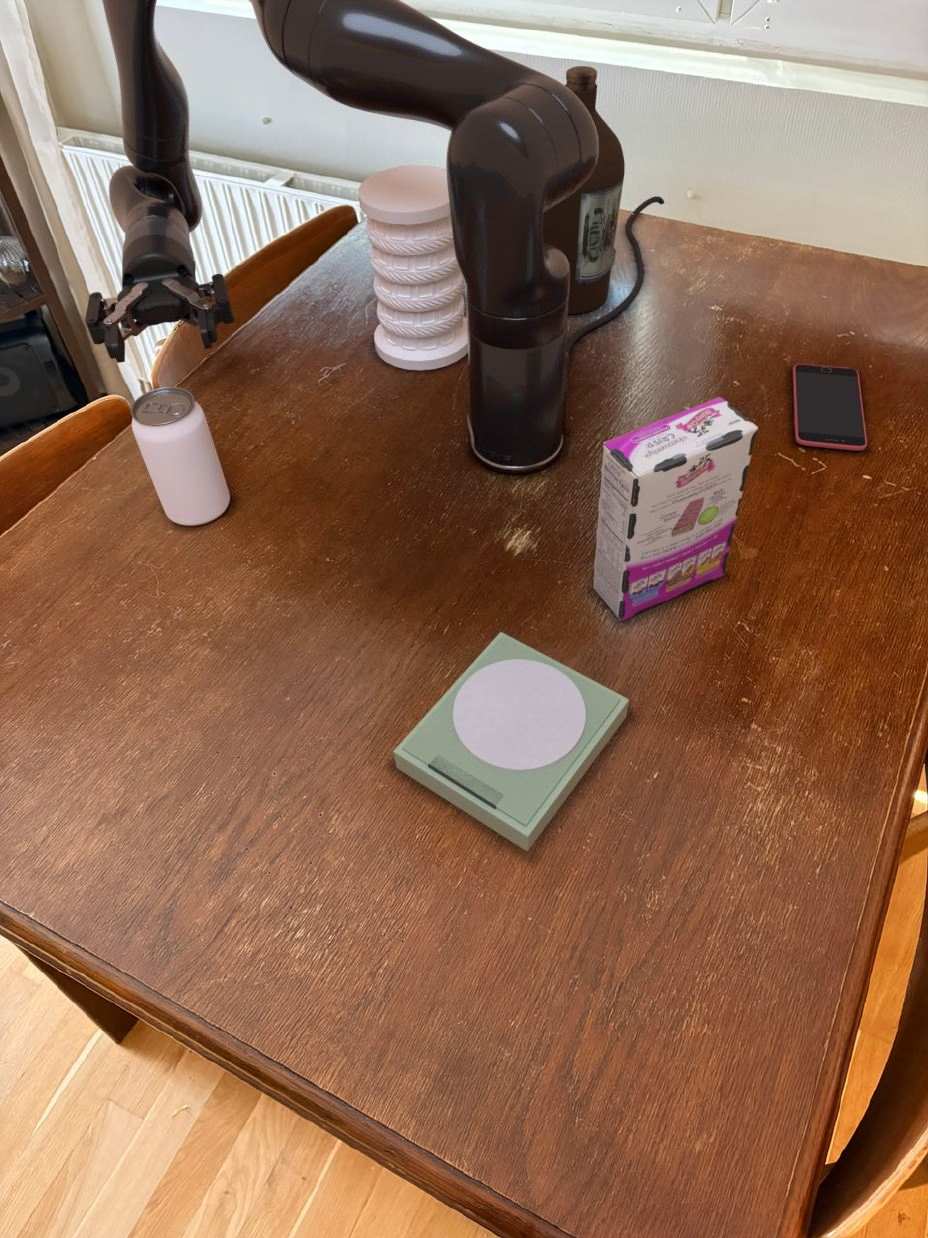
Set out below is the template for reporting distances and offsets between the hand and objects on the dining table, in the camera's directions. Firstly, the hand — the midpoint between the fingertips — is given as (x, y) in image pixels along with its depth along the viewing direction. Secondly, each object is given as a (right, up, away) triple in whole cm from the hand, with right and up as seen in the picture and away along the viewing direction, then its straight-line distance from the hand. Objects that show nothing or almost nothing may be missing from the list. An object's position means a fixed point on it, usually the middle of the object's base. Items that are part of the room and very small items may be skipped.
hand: (162, 347), depth 87 cm
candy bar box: (+47, -23, -8) cm, 53 cm away
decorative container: (+25, +6, +19) cm, 31 cm away
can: (+3, -16, +1) cm, 16 cm away
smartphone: (+68, -4, +7) cm, 68 cm away
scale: (+33, -36, -18) cm, 52 cm away
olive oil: (+43, +13, +24) cm, 51 cm away
